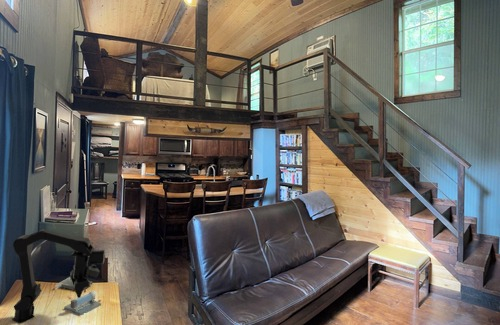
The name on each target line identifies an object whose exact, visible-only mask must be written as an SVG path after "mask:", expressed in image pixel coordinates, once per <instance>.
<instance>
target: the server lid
mask: <svg viewBox="0 0 500 325" xmlns="http://www.w3.org/2000/svg"><path fill="white" fill-rule="evenodd" d="M70 306H71V303H69V304H67V305H65V306H64V310H66V311H68V312H71V313H73V314H76V315H79V316H80V315H81V316H83V315H84V313H85V314H87V313H88V312H91V311H92V310H94V309H97V308H99V307H100V306H102V302H99V301H97V300H95V299H94V300H90V301H88V302H86V303H83V304H81V305H79V306H77V307H76V308H74V309H73V308H71V307H70ZM82 314H83V315H82Z"/></svg>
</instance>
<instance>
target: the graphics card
mask: <svg viewBox="0 0 500 325" xmlns="http://www.w3.org/2000/svg"><path fill="white" fill-rule="evenodd" d="M89 282H90V286H91V285H93V281H90V280H89ZM87 288H88V287H85V288H84V289H83V291H85V289H87ZM58 289H64V290H66V289H69V290H74V291H75V289H74V286H73V282H72V279H71V276H68V277H67V278H66V279H64V280H62V281H60V282H58V283H57V284H56V285H55V288H54V290H58Z"/></svg>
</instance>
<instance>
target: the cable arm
mask: <svg viewBox="0 0 500 325" xmlns="http://www.w3.org/2000/svg"><path fill="white" fill-rule="evenodd" d="M96 293H97V292H96V291H95V290H94V291H93V290H91V291H89V293H87V294H85V295H81V297H80V298H78V297H77V298H75V299H72V300H70V304H71V306H70V307H71V308H73V309H74V308H76V307H77V306H79V305H81V304H83V303H86V302H88V301H90V300H94V301H95V299H96Z"/></svg>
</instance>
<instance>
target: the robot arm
mask: <svg viewBox="0 0 500 325" xmlns="http://www.w3.org/2000/svg"><path fill="white" fill-rule="evenodd" d="M40 240H44V241H48V242H50V243H51V242H52V243H55V244H59V245H63V246H67V247H69V248H70V249H71V250H73V252H72V253H71V254H70V256H71V257H74V265H73V269H72V270H71V271H70V279H72V282H73V286H74V289H75V290H74V292H75V293H76V294H75V295H76V296H77V298H80V297H82V295H83V291H84V290H85V289H86V288H85V287H87V288H89V287H90V286H91V285H90V282H91V281H90V280H89V279H88V277H93V278H96V279H97V278H98V276H99V274H100V270H99V268H98V267H97V265H104V263H105V260H106V255H105V253H106V252H105V249H101V250H99V249H97V250H95V248H94V247H93V245H92V242H91V239H89V238H88V237H83V236H82V237H81V236H71V235H66V234H62V233H59V232H55V231H52V230H51V231H50V230H48V229H46V228H42V229H41V230H39V231H35V232H33V233H31V234H24V235H21V236H19V237H18V238H16V239H15V240H14V241H13V243H12V247H13V251H14V253H15V255H17V257H18V259H19V267H20V268H19V269H20V274H21V275H20V276H21V280H22V288H21V292H20V299H19V300H18V301H17V302H16V303H15V305H13V308H14V309H13V310H14V317H12V318H11V320H12V321H14V322H17V323H18V324H22V323H25V322H27V321H29V320H32V319H33V318H35V304H34V302H35V301H36V300H37V299H38V298H39V297H40V294H41V292H42V288H41V286H42V284H41V283H37V282H36V281H35V280H36V279H35V275H34V274H35V273H34V272H35V271H34V267H33V259H32V251H33V247H34V243H36V242H38V241H40ZM88 263H89V264H91V265H90V266H89V264H88ZM89 281H90V282H89ZM84 288H85V289H84ZM83 289H84V290H83Z"/></svg>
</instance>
